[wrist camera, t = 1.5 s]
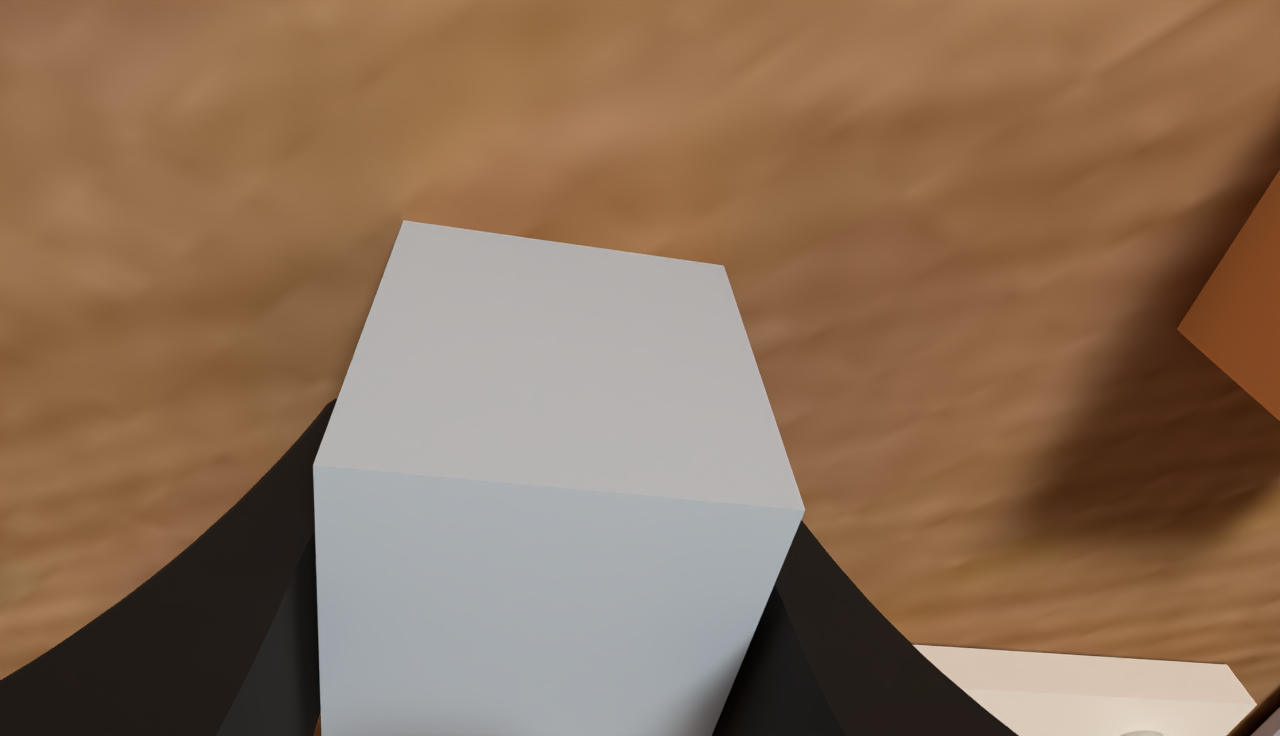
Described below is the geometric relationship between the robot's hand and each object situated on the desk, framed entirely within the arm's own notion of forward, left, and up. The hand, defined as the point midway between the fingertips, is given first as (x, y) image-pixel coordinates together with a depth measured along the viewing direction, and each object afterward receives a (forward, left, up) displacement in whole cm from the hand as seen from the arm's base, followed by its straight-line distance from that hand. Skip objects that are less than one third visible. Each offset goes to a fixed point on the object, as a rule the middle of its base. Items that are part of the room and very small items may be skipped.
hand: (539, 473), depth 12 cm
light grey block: (0, 0, -2) cm, 2 cm away
